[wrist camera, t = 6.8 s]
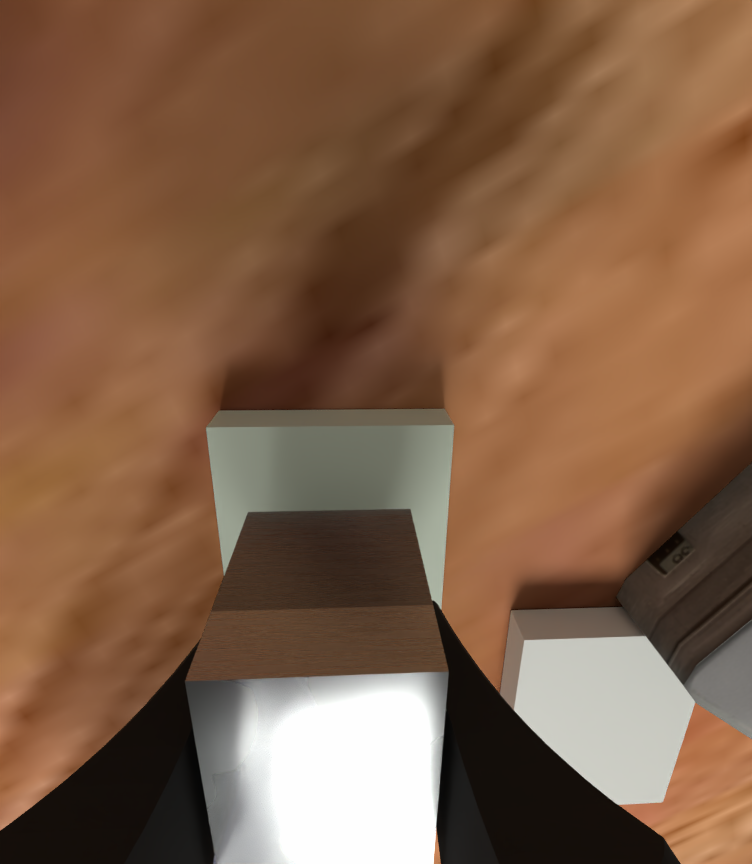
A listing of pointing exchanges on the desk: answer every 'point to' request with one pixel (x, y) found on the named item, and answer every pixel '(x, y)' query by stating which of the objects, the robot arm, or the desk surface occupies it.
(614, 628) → the stand
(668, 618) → the hard drive
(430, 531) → the stand
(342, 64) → the desk surface
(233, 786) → the block
